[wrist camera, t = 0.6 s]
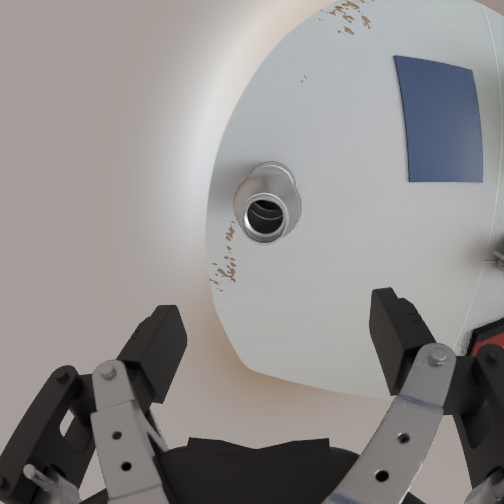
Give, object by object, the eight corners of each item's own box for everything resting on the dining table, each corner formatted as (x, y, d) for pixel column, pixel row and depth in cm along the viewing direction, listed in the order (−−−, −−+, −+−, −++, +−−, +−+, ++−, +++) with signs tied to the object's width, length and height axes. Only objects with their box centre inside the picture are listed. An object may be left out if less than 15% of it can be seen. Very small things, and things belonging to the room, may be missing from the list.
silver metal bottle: (290, 156, 38) (298, 168, 19) (298, 202, 40) (312, 256, 21) (245, 165, 39) (211, 185, 20) (255, 210, 41) (232, 268, 23)
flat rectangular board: (393, 55, 29) (394, 55, 29) (471, 70, 27) (472, 70, 27) (409, 181, 37) (409, 182, 36) (482, 182, 34) (483, 182, 34)
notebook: (477, 335, 43) (532, 311, 39) (473, 329, 45) (527, 306, 41) (459, 381, 49) (513, 356, 45) (456, 375, 51) (510, 351, 47)
